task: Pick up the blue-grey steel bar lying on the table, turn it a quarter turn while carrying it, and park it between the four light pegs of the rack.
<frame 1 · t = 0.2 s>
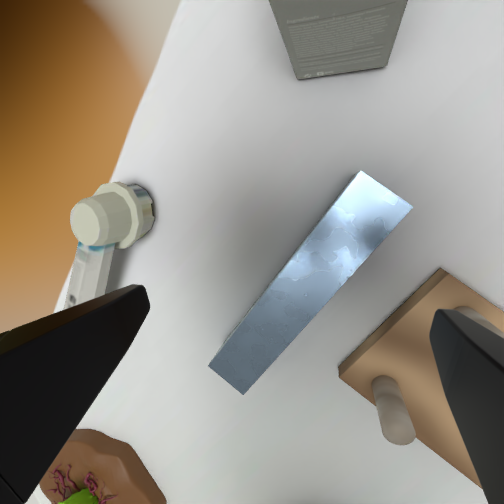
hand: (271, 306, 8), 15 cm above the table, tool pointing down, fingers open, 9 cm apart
plant: (108, 483, 38), on the table
steel bar: (298, 283, 24), on the table
skincare box: (336, 12, 19), on the table
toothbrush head: (111, 287, 30), on the table
peg rack: (478, 391, 21), on the table
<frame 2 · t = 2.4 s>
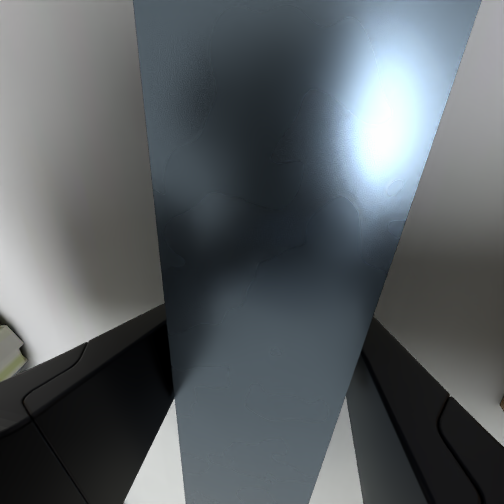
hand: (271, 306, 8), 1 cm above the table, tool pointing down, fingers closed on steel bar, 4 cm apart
steel bar: (278, 283, 9), on the table, touching gripper
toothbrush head: (71, 432, 19), on the table
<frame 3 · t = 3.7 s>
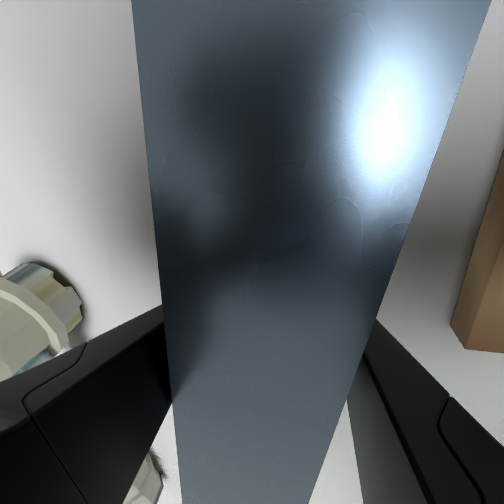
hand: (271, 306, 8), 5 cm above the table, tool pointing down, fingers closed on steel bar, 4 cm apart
steel bar: (277, 284, 9), point 4 cm above the table, touching gripper
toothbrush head: (110, 386, 23), on the table
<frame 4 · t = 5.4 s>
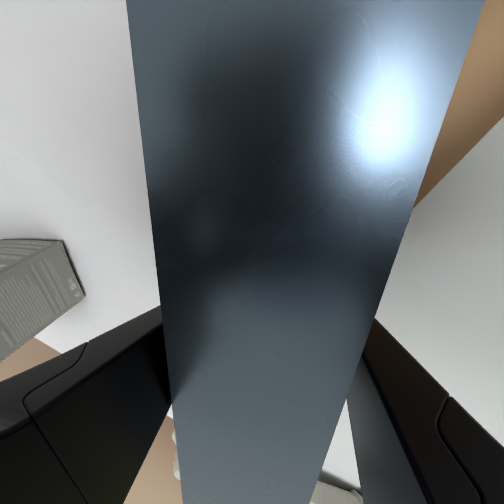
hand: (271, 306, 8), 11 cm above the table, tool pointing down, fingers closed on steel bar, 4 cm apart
steel bar: (277, 285, 9), point 10 cm above the table, touching gripper
skincare box: (45, 270, 26), on the table
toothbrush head: (283, 452, 31), on the table
peg rack: (358, 93, 14), on the table
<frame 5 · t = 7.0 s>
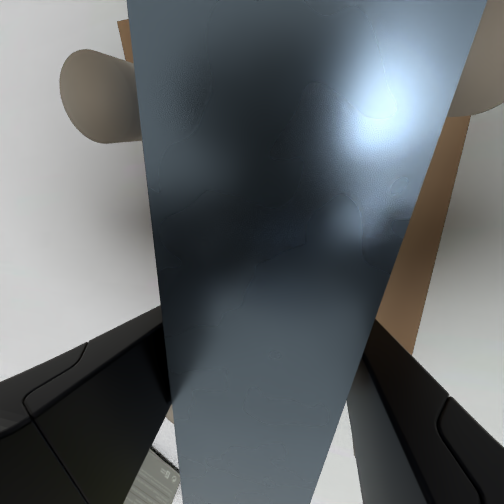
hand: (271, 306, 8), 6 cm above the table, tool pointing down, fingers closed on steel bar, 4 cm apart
steel bar: (277, 284, 9), point 4 cm above the table, touching gripper
skincare box: (143, 461, 28), on the table
peg rack: (289, 238, 13), on the table
when the fingers open (4 cm above the table, at t = 8.0 s): steel bar drops 1 cm, resting on peg rack.
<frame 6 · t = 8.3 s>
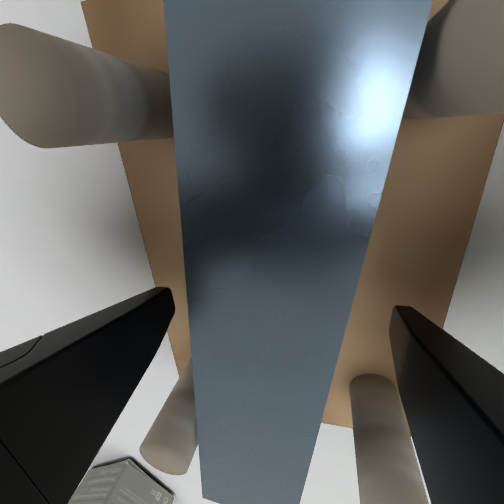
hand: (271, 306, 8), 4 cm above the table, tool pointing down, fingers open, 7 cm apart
steel bar: (281, 266, 10), point 1 cm above the table, touching peg rack
skincare box: (134, 480, 27), on the table
peg rack: (286, 252, 12), on the table
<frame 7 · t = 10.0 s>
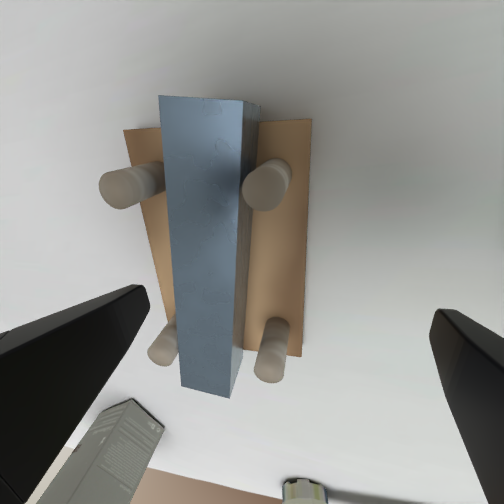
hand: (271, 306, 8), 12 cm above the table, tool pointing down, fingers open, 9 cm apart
steel bar: (223, 256, 20), point 1 cm above the table, touching peg rack
skincare box: (134, 419, 36), on the table
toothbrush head: (388, 498, 32), on the table
peg rack: (229, 249, 21), on the table
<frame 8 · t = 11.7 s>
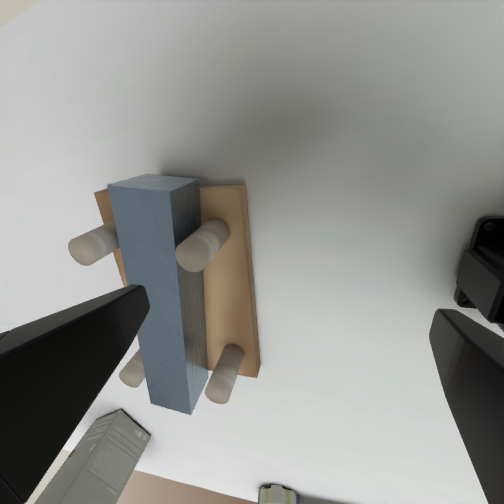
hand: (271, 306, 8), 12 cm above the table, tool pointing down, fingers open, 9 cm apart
steel bar: (183, 293, 23), point 1 cm above the table, touching peg rack
skincare box: (124, 427, 40), on the table
peg rack: (191, 285, 24), on the table
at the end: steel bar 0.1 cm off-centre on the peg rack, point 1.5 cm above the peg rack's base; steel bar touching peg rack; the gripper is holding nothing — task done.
